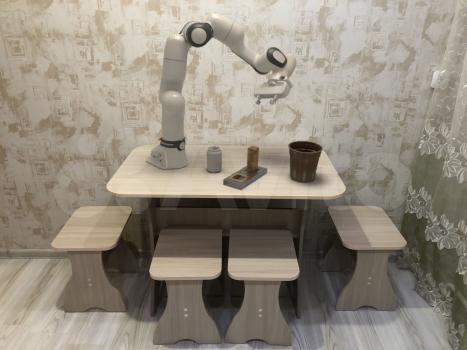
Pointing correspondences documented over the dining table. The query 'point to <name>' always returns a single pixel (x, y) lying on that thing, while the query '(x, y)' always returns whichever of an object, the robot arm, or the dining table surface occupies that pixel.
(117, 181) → the dining table surface
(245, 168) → the metal plate
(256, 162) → the walnut peg
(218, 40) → the robot arm
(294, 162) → the plant pot
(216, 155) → the can
